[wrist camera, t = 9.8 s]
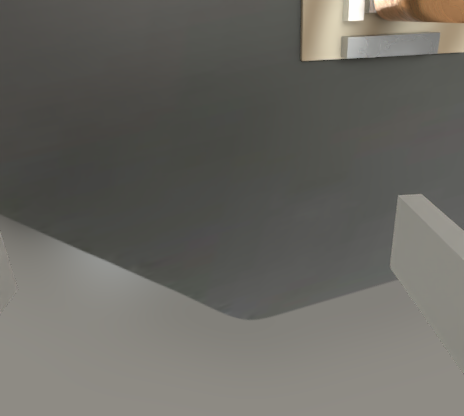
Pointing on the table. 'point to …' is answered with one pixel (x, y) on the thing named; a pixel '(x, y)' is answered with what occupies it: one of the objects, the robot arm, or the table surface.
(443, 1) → the ram
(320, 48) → the board
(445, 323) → the robot arm
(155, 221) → the table surface
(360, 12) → the rails
